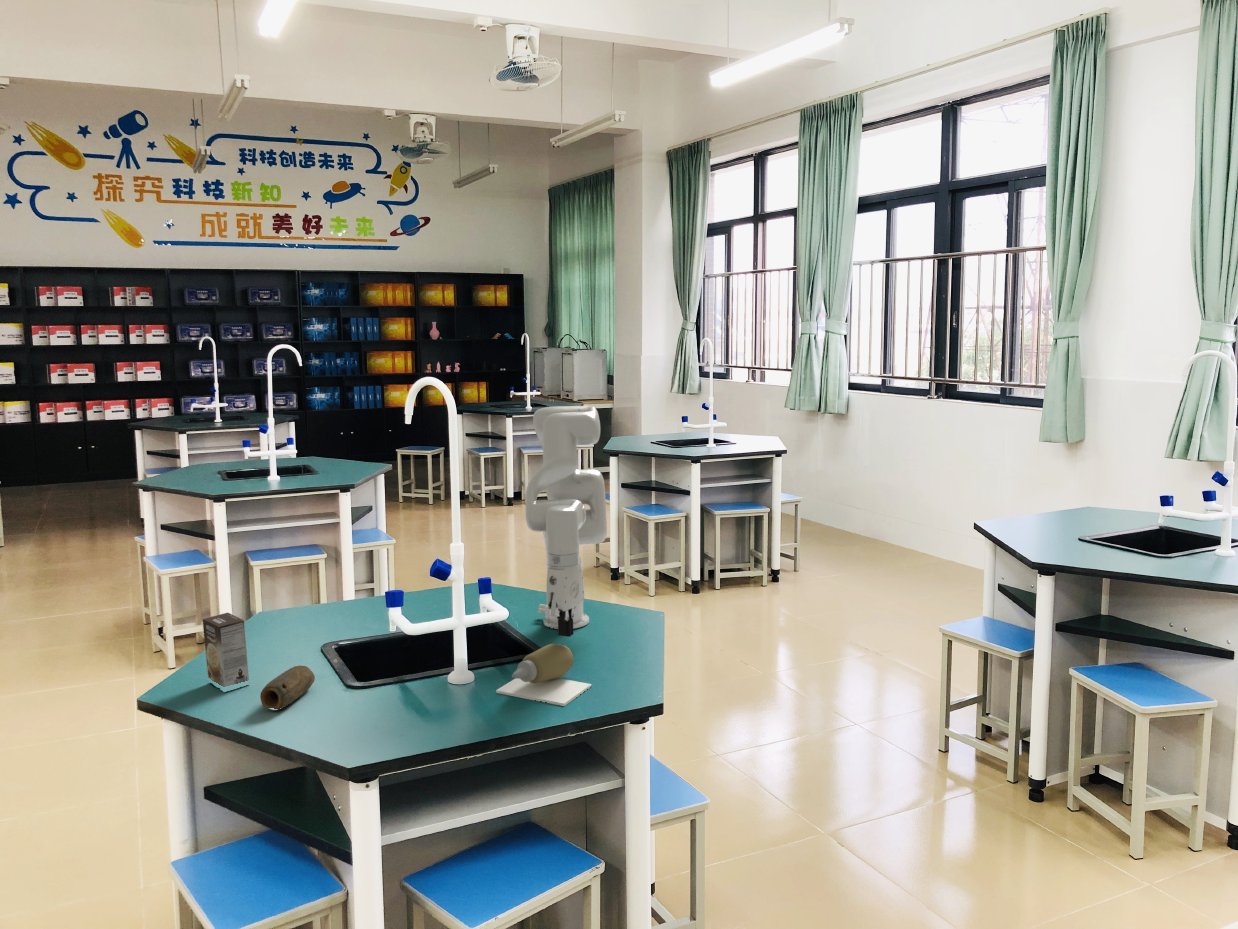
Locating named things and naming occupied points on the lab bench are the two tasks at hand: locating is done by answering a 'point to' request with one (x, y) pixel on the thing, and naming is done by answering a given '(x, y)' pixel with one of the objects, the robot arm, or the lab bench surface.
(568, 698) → the mat
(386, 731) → the lab bench surface
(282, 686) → the brown hollow cylinder
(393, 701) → the lab bench surface
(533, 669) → the squeeze bottle
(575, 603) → the robot arm
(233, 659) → the coffee box
